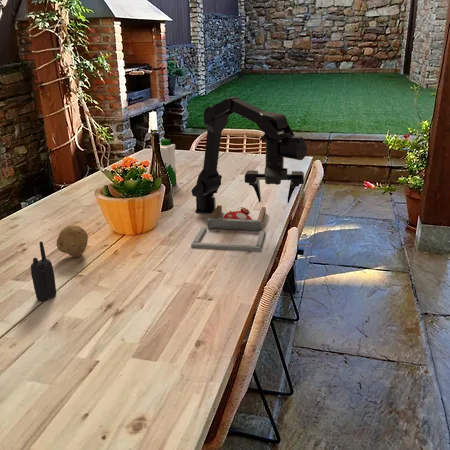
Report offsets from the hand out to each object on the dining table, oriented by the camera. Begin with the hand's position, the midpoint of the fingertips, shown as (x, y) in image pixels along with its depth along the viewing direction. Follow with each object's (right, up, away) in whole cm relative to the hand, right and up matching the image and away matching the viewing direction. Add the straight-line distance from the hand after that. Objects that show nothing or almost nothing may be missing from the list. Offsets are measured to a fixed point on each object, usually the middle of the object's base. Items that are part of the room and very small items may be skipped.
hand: (273, 202), depth 155 cm
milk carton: (-43, +10, +57) cm, 71 cm away
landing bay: (-15, -12, -3) cm, 19 cm away
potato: (-61, -17, -12) cm, 65 cm away
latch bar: (-13, -9, +6) cm, 17 cm away
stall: (-11, -5, +14) cm, 19 cm away
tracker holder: (-10, -6, +13) cm, 18 cm away
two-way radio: (-61, -26, -35) cm, 75 cm away
